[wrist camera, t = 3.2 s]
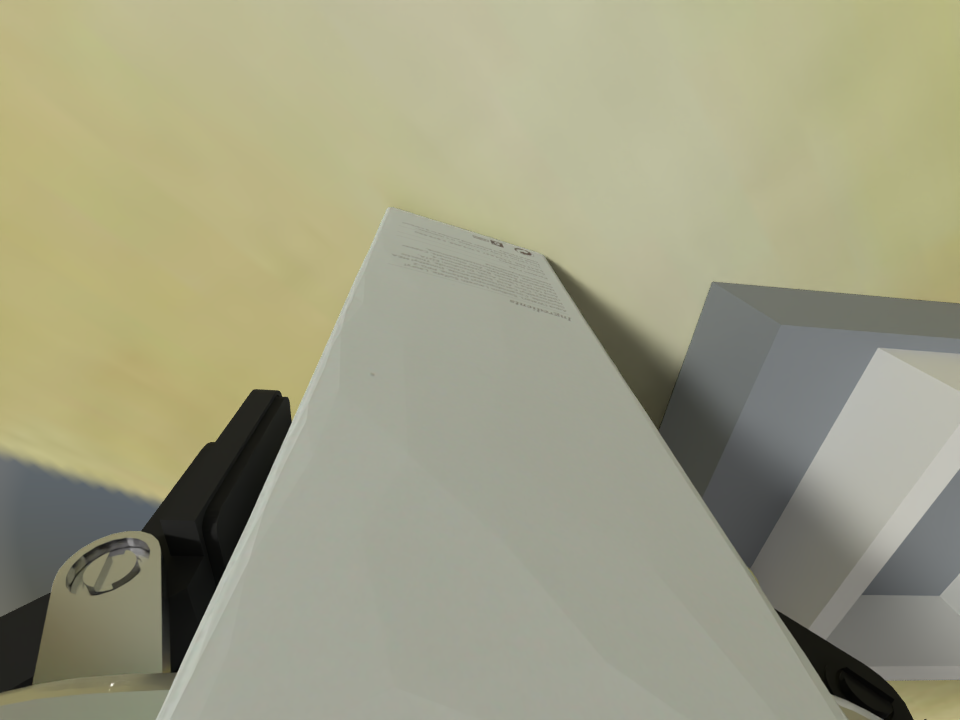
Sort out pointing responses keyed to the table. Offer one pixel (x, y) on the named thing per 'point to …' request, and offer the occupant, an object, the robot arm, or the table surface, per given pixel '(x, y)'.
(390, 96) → the table surface
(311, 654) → the skincare box
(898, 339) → the grey box holder
